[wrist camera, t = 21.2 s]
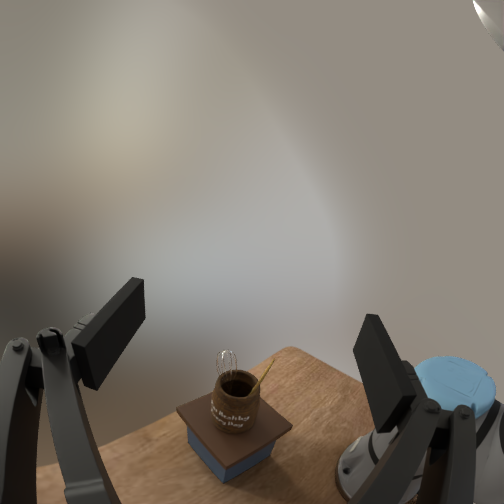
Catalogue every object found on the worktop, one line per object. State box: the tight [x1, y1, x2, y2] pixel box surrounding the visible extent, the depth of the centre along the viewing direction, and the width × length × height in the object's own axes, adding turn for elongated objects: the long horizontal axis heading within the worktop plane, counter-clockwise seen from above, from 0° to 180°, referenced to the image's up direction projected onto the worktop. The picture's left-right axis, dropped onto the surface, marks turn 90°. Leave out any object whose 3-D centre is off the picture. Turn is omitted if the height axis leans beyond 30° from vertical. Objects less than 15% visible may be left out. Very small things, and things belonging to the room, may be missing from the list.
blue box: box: [176, 392, 293, 483], centre depth 35 cm, size 11×11×9 cm
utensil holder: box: [211, 350, 275, 434], centre depth 31 cm, size 6×6×12 cm
